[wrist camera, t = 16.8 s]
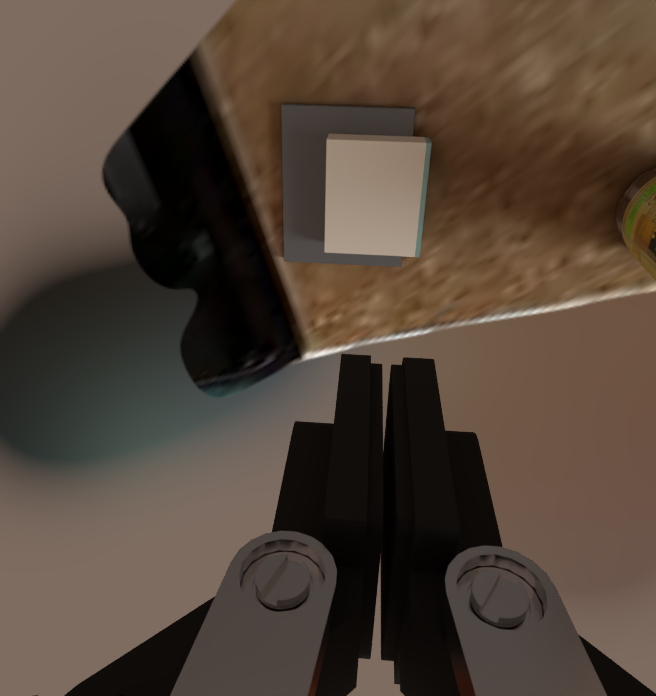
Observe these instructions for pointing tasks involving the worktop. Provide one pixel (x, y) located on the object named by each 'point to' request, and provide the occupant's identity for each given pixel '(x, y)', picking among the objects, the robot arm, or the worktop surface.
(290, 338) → the worktop surface
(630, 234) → the sauce bottle
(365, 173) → the cream tile
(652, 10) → the worktop surface
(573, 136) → the worktop surface
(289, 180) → the rubber mat
